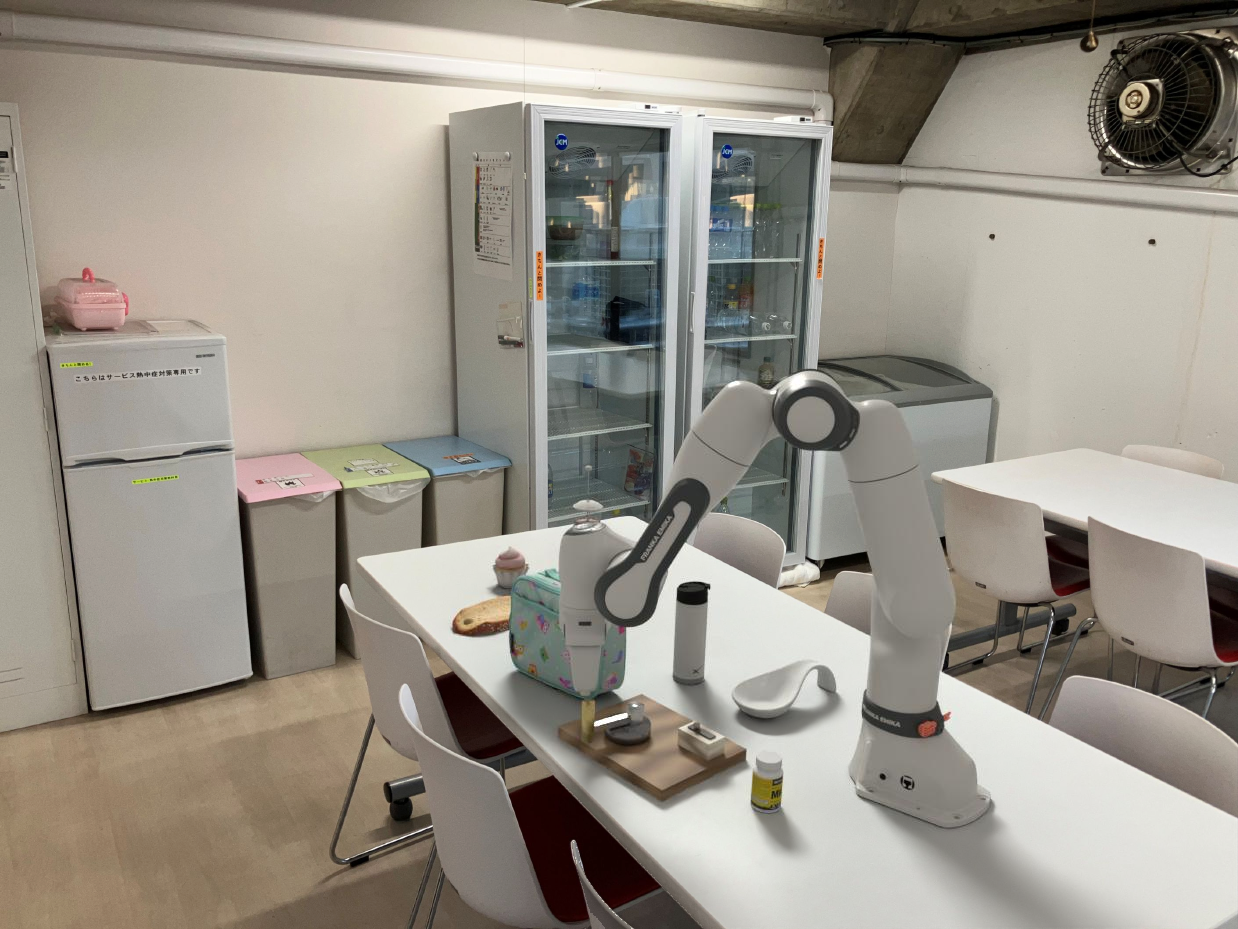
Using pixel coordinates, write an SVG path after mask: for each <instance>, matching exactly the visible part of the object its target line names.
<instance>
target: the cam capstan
mask: <svg viewBox="0 0 1238 929" xmlns="http://www.w3.org/2000/svg"><path fill="white" fill-rule="evenodd" d="M595 712H596V701H595V699H594V698H593V699H582V701H581V718H582V720H581V741H582V742H584V743H592V742H593V741H594V733H596V732H599V731H603V730H604V734H605V737H606V738H607V739H608V740H609V741H611V742H613V743H615V744H619V745H627V746H632V745H638V744H642V743H644V742H646V741H647V740H648V739H649V738H650V736H651V722H650V720H649V719H648V718H647V717H645V716H644V704H643V703H642V702H638V701H632V702H629V703H628V704H627V712H621V713H616V714H613V715H610V716H609V717H607V718H606V719H602V720H599V721H595Z"/></svg>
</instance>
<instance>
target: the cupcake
mask: <svg viewBox="0 0 1238 929" xmlns="http://www.w3.org/2000/svg"><path fill="white" fill-rule="evenodd" d="M494 563H495V564H492V565H491V567H492V568H491V569H492V570H493V572H494V574H495V577H496V578H495V579H496V582H497V584H498V586H499V587H500V588H504V589H512V586H513V584H514V582H515V580H516V579H517V578H518V577H519V576H521V575H527V574H528V571H529V569H530V567H529V566H530V564H529V563H526V557H525V556H524V554H523V553H522V552H520V551H518V550H517V549H516V548H514V547H512V546H510V545H509V546H508V548H507V550H504V551H502V552H500V553H499V554H498V556H497V557H496V558H495V560H494Z"/></svg>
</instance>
